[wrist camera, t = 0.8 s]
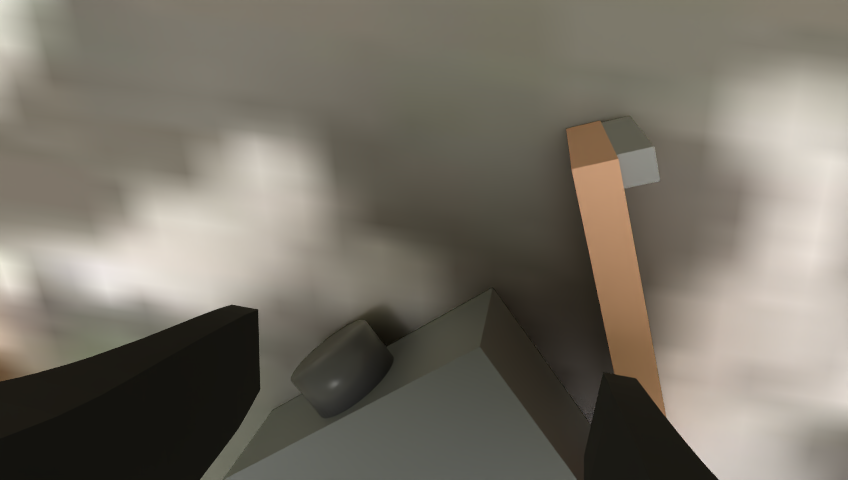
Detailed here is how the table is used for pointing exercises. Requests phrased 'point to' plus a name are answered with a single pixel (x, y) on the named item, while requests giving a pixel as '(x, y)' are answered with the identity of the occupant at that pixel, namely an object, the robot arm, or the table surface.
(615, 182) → the side door
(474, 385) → the box
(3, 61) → the table surface
